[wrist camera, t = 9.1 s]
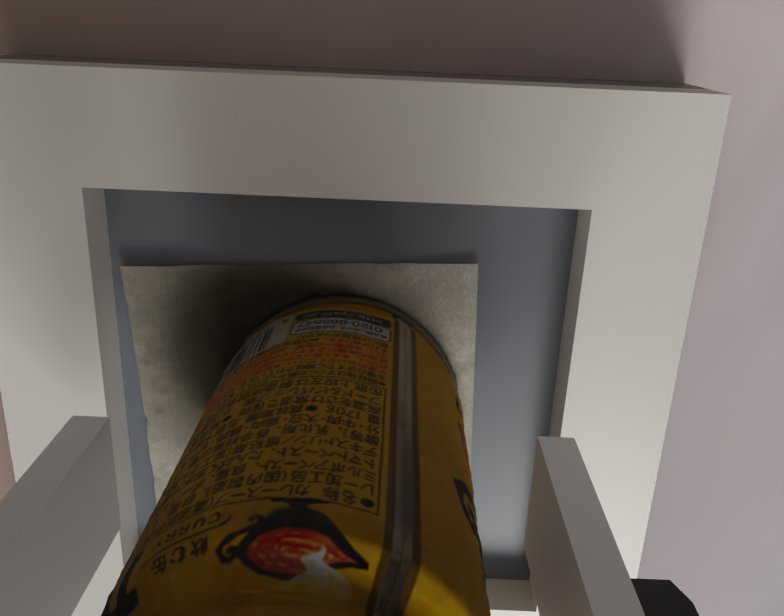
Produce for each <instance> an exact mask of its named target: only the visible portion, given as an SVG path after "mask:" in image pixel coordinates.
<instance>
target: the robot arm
mask: <svg viewBox="0 0 784 616" xmlns="http://www.w3.org/2000/svg"><path fill="white" fill-rule="evenodd" d="M120 528H121V519H120V510H119V501H118V492H117V483H116V473H115V464H114V455H113V446H112V436H111V427H110V418H109V417H97V416H74V415H73V416H72V417H71V418H70V419H69V420H68V422H67V423H66V424H65V425H64V426H63V428H62V429H61V430H60V431H59V432H58V434H57V435H56V436H55V437H54V438H53V440H52V441H51V442H50V443H49V444H48V446H47V447H46V448H45V449H44V450H43V451H42V453H41V454H40V455H39V456H38V457H37V459H36V460H35V461H34V462H33V463H32V465H31V466H30V467H29V468H28V469H27V471H26V472H25V473H24V474H23V475H22V477H21V478H20V479H19V480H18V481H17V482H16V484H15V485H14V486H13V487H12V488H11V490H10V491H9V492H8V493H7V494H6V496H5V497H4V498H3V499H2V500H1V502H0V616H71V615H72V613H73V612H74V610H75V608H76V606H77V604H78V603H79V601H80V599H81V597H82V595H83V594H84V592H85V590H86V588H87V587H88V585H89V583H90V581H91V579H92V578H93V576H94V574H95V572H96V571H97V569H98V567H99V565H100V563H101V562H102V560H103V558H104V556H105V554H106V553H107V551H108V549H109V547H110V546H111V544H112V542H113V540H114V538H115V537H116V535H117V533H118V531H119V529H120ZM524 548H525V552H526V557H527V561H528V566H529V570H530V575H531V579H532V584H533V588H534V593H535V597H536V602H537V606H538V611H539V615H540V616H699V615H698V613H697V610H696V608H695V606H694V604H693V603H692V602H691V601H690V600H689V599H688V598H687V597H686V596H685V595H684V594H683V593H682V592H681V591H680V590H679V589H678V588H677V587H676V586H675V585H674V584H673V583H672V582H671V581H670V580H655V579H633V578H630V576H629V574H628V571H627V569H626V566H625V564H624V561H623V559H622V556H621V554H620V551H619V549H618V546H617V544H616V541H615V539H614V536H613V534H612V531H611V529H610V526H609V524H608V521H607V519H606V516H605V514H604V511H603V509H602V506H601V504H600V501H599V499H598V496H597V494H596V491H595V489H594V486H593V484H592V481H591V479H590V476H589V474H588V471H587V468H586V466H585V463H584V461H583V458H582V456H581V453H580V451H579V448H578V446H577V443H576V441H575V438H568V437H545V436H537V444H536V452H535V460H534V468H533V476H532V484H531V491H530V499H529V507H528V515H527V523H526V531H525V539H524Z"/></svg>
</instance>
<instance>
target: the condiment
mask: <svg viewBox="0 0 784 616" xmlns="http://www.w3.org/2000/svg"><path fill="white" fill-rule="evenodd" d="M120 270H121V275H122V280H123V288H124V294H125V297H126V300H127V304H128V310H129V318H130V324H131V330H132V336H133V343H134V350H135V356H136V362H137V366H138V372H139V378H140V386H141V394H142V401H143V408H144V413H145V416H146V417H147V422H146V424H147V439H148V444H149V454H150V460H151V464H152V470H153V476H154V489H155V497H156V504H157V505H156V507H155V509H154V511H153V513H152V514H151V515H150V517H149V520H148V522H147V524H146V526H145V528H144V530H143V532H142V534H141V536H140V538H139V540H138V542H137V543H136V545H135V548H134V549H133V551H132V553H131V556H130V557H129V559H128V561H127V562H126V564H125V566H124V568H123V570H122V571H121V574H120V577H119V578H118V580H117V583H116V585H115V587H114V589H113V590H112V591H111V593H110V594H109V595H108V599H107V602H106V605H105V607H104V610H103V612H102V614H101V616H491V613H490V605H489V599H488V596H487V593H486V577H485V571H484V566H483V555H482V546H481V541H480V537H479V534H478V527H477V517H476V507H475V503H474V490H473V483H472V479H471V478H472V475H471V452H472V421H473V394H474V364H475V341H476V315H477V290H478V264H415V263H393V264H373V263H342V264H300V265H298V264H285V265H271V266H254V265H183V266H164V267H158V266H120Z"/></svg>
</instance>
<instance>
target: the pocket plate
mask: <svg viewBox="0 0 784 616" xmlns="http://www.w3.org/2000/svg"><path fill="white" fill-rule="evenodd" d="M731 97H732V95H731V94H726V93H722V92H718V91H714V90H710V89H705V88H701V87H697V86H693V85H689V84H678V83H655V82H632V81H609V80H586V79H563V78H540V77H517V76H494V75H471V74H448V73H425V72H402V71H379V70H356V69H333V68H310V67H287V66H264V65H241V64H218V63H195V62H172V61H149V60H126V59H103V58H80V57H57V56H34V55H1V56H0V390H1V396H2V403H3V409H4V415H5V421H6V427H7V433H8V439H9V445H10V451H11V457H12V463H13V469H14V475H15V481H16V482H17V481H18V480H19V479H20V478H21V477H22V475H23V474H24V473H25V472H26V471H27V469H28V468H29V467H30V466H31V465H32V463H33V462H34V461H35V460H36V459H37V457H38V456H39V455H40V454H41V453H42V451H43V450H44V449H45V448H46V447H47V446H48V444H49V443H50V442H51V441H52V440H53V438H54V437H55V436H56V435H57V434H58V432H59V431H60V430H61V429H62V428H63V426H64V425H65V424H66V423H67V422H68V420H69V419H70V418H71V417H72V416H73V415H74V416H97V417H109V418H110V427H111V436H112V446H113V455H114V464H115V473H116V483H117V492H118V501H119V510H120V519H121V528H120V529H119V531H118V533H117V535H116V537H115V538H114V540H113V542H112V544H111V546H110V547H109V549H108V551H107V553H106V554H105V556H104V558H103V560H102V562H101V563H100V565H99V567H98V569H97V571H96V572H95V574H94V576H93V578H92V579H91V581H90V583H89V585H88V587H87V588H86V590H85V592H84V594H83V595H82V597H81V599H80V601H79V603H78V604H77V606H76V608H75V610H74V612H73V613H72V615H71V616H101V614H102V612H103V610H104V607H105V605H106V602H107V599H108V595H109V594H110V593H111V591H112V590H113V589H114V587H115V585H116V583H117V580H118V578H119V577H120V574H121V571H122V570H123V568H124V566H125V564H126V562H127V561H128V559H129V557H130V556H131V553H132V551H133V549H134V548H135V545H136V543H137V542H138V540H139V538H140V536H141V534H142V532H143V530H144V528H145V526H146V524H147V522H148V520H149V517H150V515H151V514H152V513H153V511H154V509H155V507H156V505H157V504H156V497H155V489H154V476H153V470H152V464H151V460H150V454H149V444H148V439H147V424H146V422H147V417H146V416H145V413H144V408H143V401H142V394H141V386H140V378H139V372H138V366H137V362H136V356H135V350H134V343H133V336H132V330H131V324H130V318H129V310H128V304H127V300H126V297H125V294H124V288H123V280H122V275H121V270H120V266H158V267H164V266H183V265H254V266H271V265H285V264H298V265H300V264H342V263H373V264H393V263H415V264H478V290H477V315H476V341H475V364H474V394H473V421H472V452H471V475H472V478H471V479H472V483H473V490H474V503H475V507H476V517H477V527H478V534H479V537H480V541H481V546H482V555H483V566H484V571H485V577H486V593H487V596H488V599H489V605H490V613H491V616H540V615H539V611H538V606H537V602H536V597H535V593H534V588H533V584H532V579H531V575H530V570H529V566H528V561H527V557H526V552H525V548H524V539H525V531H526V523H527V515H528V507H529V499H530V491H531V484H532V476H533V468H534V460H535V452H536V444H537V436H545V437H568V438H575V441H576V443H577V446H578V448H579V451H580V453H581V456H582V458H583V461H584V463H585V466H586V468H587V471H588V474H589V476H590V479H591V481H592V484H593V486H594V489H595V491H596V494H597V496H598V499H599V501H600V504H601V506H602V509H603V511H604V514H605V516H606V519H607V521H608V524H609V526H610V529H611V531H612V534H613V536H614V539H615V541H616V544H617V546H618V549H619V551H620V554H621V556H622V559H623V561H624V564H625V566H626V569H627V571H628V574H629V576H630V578H633V579H637V574H638V569H639V564H640V559H641V554H642V549H643V544H644V539H645V534H646V529H647V523H648V518H649V513H650V508H651V503H652V498H653V493H654V488H655V483H656V478H657V473H658V468H659V462H660V457H661V452H662V447H663V442H664V437H665V432H666V427H667V422H668V417H669V412H670V407H671V402H672V396H673V391H674V386H675V381H676V376H677V371H678V366H679V361H680V356H681V351H682V346H683V341H684V335H685V330H686V325H687V320H688V315H689V310H690V305H691V300H692V295H693V290H694V285H695V280H696V275H697V269H698V264H699V259H700V254H701V249H702V244H703V239H704V234H705V229H706V224H707V219H708V214H709V208H710V203H711V198H712V193H713V188H714V183H715V178H716V173H717V168H718V163H719V158H720V153H721V148H722V142H723V137H724V132H725V127H726V122H727V117H728V112H729V107H730V102H731Z"/></svg>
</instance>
